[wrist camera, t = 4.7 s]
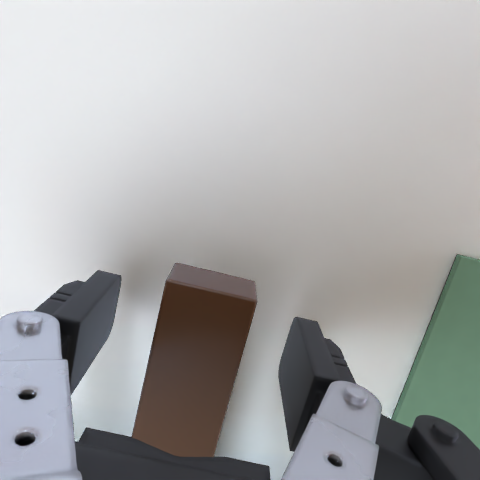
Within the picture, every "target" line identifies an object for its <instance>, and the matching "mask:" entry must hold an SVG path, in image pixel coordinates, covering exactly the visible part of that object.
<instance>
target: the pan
mask: <svg viewBox="0 0 480 480" xmlns="http://www.w3.org/2000/svg"><path fill="white" fill-rule="evenodd" d="M256 305H257V295H256V285H255V282H254V281H252V280H248V279H244V278H239V277H235V276H231V275H227V274H223V273H218V272H214V271H210V270H206V269H202V268H197V267H193V266H189V265H185V264H181V263H175V264H174V266H173V268H172V270H171V272H170V274H169V275H168V277H167V279H166V282H165V287H164V291H163V296H162V300H161V305H160V310H159V314H158V319H157V323H156V328H155V332H154V337H153V342H152V346H151V351H150V355H149V360H148V364H147V369H146V373H145V378H144V383H143V387H142V392H141V396H140V401H139V405H138V410H137V415H136V419H135V424H134V428H133V433H132V438H135V439H137V440H139V441H142V442H144V443H146V444H149V445H151V446H153V447H156V448H158V449H160V450H162V451H165V452H167V453H169V454H172V455H174V456H179V457H214V454H215V451H216V447H217V443H218V440H219V436H220V433H221V429H222V426H223V422H224V419H225V415H226V411H227V408H228V404H229V401H230V397H231V394H232V390H233V387H234V383H235V379H236V376H237V372H238V369H239V365H240V362H241V358H242V355H243V351H244V347H245V344H246V340H247V337H248V333H249V330H250V326H251V323H252V319H253V315H254V312H255V308H256Z"/></svg>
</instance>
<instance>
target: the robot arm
mask: <svg viewBox="0 0 480 480" xmlns="http://www.w3.org/2000/svg"><path fill="white" fill-rule="evenodd" d="M120 286H121V275H117V274H113V273H109V272H104V271H100V270H98V271H96V272H95V273H94V274H93V275H92V276H91V277H90V278H89V279H88V280H87V281H86V282H82V281H78V280H77V281H74V282H71V283H68V284H65V285H63V286H62V287H61V288H60V289H59V290H57V291H56V293H54V294H53V295H52V296H51V297H50V299H49V298H48V299H47V300H46V301H45V302H44V303H42V304H41V305H40V306H39V307H38V308H37V309H36V310H34V311H19V312H14V313H10V314H7V315H5V316H3V317H2V318H0V480H270V470H269V466H266V465H261V464H256V463H251V462H247V461H242V460H237V459H233V458H228V457H179V456H174V455H172V454H169V453H167V452H165V451H162V450H160V449H158V448H156V447H153V446H151V445H149V444H146V443H144V442H142V441H139V440H137V439H135V438H132V437H128V436H124V435H119V434H114V433H109V432H105V431H100V430H95V429H90V428H86V429H85V431H84V432H83V434H82V436H81V438H80V440H79V442H75V440H74V429H73V417H72V406H71V394H72V393H73V391H74V390H75V388H76V387H77V385H78V384H79V382H80V381H81V379H82V377H83V376H84V374H85V373H86V371H87V370H88V368H89V367H90V365H91V363H92V362H93V360H94V359H95V357H96V356H97V354H98V353H99V351H100V349H101V348H102V346H103V345H104V343H105V342H106V340H107V339H108V337H109V334H110V332H111V329H112V326H113V322H114V317H115V312H116V307H117V302H118V296H119V291H120ZM347 366H348V365H347V363H346V361H345V360H344V356H343V354H342V352H341V350H340V348H339V347H338V346H337V345H336V344H335V343H334V342H332V341H331V340H330V339H327V338H324V336H323V334H322V331H321V329H320V326H319V324H318V322H317V321H312V320H308V319H304V318H300V317H295V318H294V319H293V322H292V324H291V327H290V331H289V334H288V337H287V340H286V344H285V347H284V350H283V353H282V357H281V360H280V365H279V383H280V390H281V396H282V403H283V409H284V416H285V422H286V429H287V435H288V441H289V448H290V451H293V452H294V454H293V456H292V458H291V460H290V462H289V464H288V466H287V468H286V470H285V472H284V474H283V476H282V478H281V480H480V450H479V449H478V447H477V446H476V445H475V444H474V443H473V442H472V441H471V440H470V439H469V438H468V437H467V436H466V435H465V434H464V433H463V432H462V431H461V430H460V429H458V428H457V427H455V426H454V425H452V424H451V423H449V422H447V421H445V420H443V419H440V418H438V417H435V416H431V415H419V416H417V417H416V419H415V421H414V423H413V426H412V428H410V427H408V426H406V425H403V424H401V423H399V422H396V421H394V420H391V419H389V418H387V417H385V416H383V415H382V414H381V411H382V406H381V403H380V401H379V400H378V399H377V397H376V396H375V395H373V394H372V393H371V392H370V391H368V390H367V389H365V388H363V387H361V386H359V385H357V384H356V383H355V380H354V378H353V376H352V374H351V372H350V369H349V367H347Z"/></svg>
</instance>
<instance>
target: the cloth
mask: <svg viewBox="0 0 480 480" xmlns="http://www.w3.org/2000/svg"><path fill="white" fill-rule="evenodd" d="M419 415H431V416H435V417H438V418H440V419H443V420H445V421H447V422H449V423H451V424H452V425H454V426H455V427H457V428H458V429H460V430H461V431H462V432H463V433H464V434H465V435H466V436H467V437H468V438H469V439H470V440H471V441H472V442H473V443H474V444H475V445H476V446H477V447H478V449H479V450H480V260H479V259H475V258H471V257H467V256H463V255H459V254H458V255H457V256H456V259H455V261H454V264H453V266H452V269H451V271H450V274H449V276H448V279H447V281H446V284H445V286H444V289H443V291H442V294H441V296H440V299H439V301H438V304H437V306H436V309H435V311H434V314H433V316H432V319H431V321H430V324H429V326H428V329H427V332H426V334H425V337H424V339H423V342H422V344H421V347H420V349H419V352H418V354H417V357H416V359H415V362H414V364H413V367H412V369H411V372H410V374H409V377H408V379H407V382H406V384H405V387H404V389H403V392H402V394H401V397H400V399H399V402H398V404H397V407H396V409H395V412H394V414H393V417H392V419H391V420H394V421H396V422H399V423H401V424H403V425H406V426H408V427H410V428H412V426H413V423H414V421H415V419H416V417H417V416H419Z"/></svg>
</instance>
